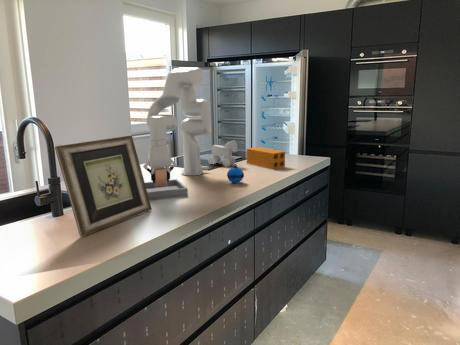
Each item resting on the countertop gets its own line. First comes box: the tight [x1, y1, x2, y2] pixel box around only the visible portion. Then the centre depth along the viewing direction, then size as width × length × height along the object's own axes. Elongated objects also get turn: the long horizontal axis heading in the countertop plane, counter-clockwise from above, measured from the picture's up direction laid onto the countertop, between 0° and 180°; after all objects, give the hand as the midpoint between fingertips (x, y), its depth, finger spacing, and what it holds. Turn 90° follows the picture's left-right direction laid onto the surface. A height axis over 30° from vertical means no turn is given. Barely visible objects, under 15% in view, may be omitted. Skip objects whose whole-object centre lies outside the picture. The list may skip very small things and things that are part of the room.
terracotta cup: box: [154, 167, 168, 187], centre depth 174 cm, size 6×6×8 cm
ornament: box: [226, 163, 245, 184], centre depth 191 cm, size 9×9×10 cm
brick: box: [246, 146, 286, 170], centre depth 236 cm, size 26×10×10 cm, turn 35°
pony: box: [207, 139, 239, 168], centre depth 237 cm, size 20×10×17 cm, turn 58°
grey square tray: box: [144, 178, 189, 201], centre depth 175 cm, size 20×20×4 cm
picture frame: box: [54, 135, 153, 237], centre depth 135 cm, size 33×10×30 cm, turn 148°
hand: (160, 180), depth 174 cm, fingers closed on terracotta cup, 6 cm apart
